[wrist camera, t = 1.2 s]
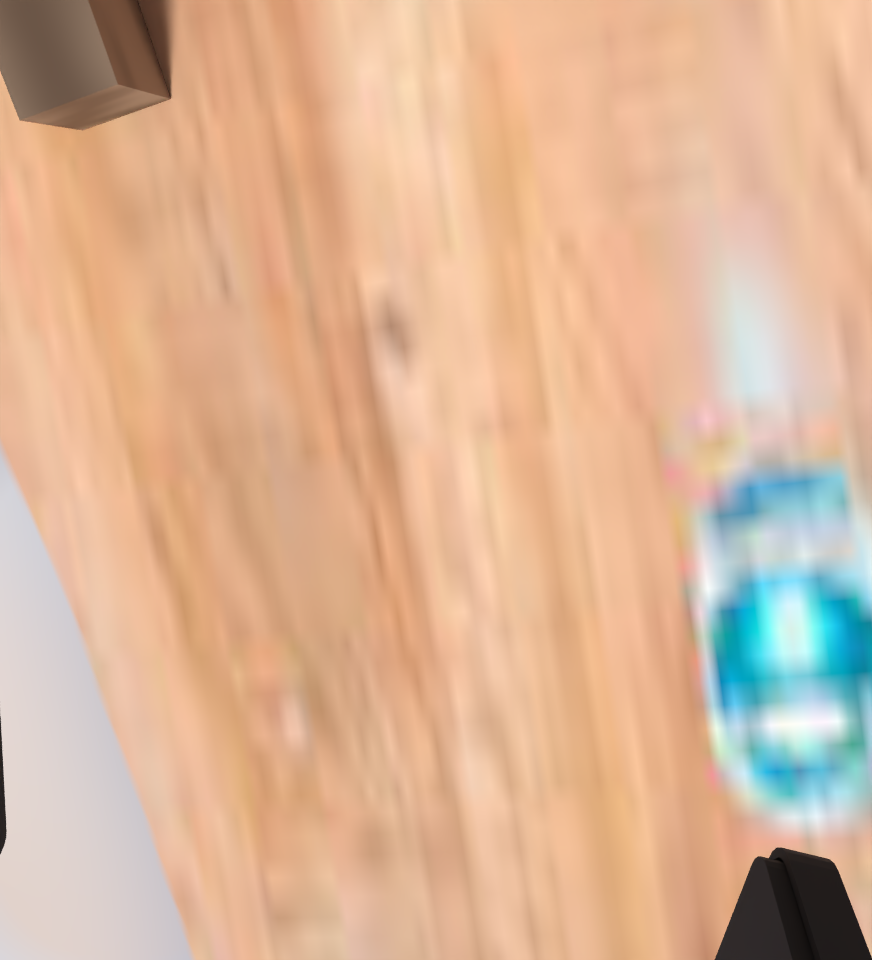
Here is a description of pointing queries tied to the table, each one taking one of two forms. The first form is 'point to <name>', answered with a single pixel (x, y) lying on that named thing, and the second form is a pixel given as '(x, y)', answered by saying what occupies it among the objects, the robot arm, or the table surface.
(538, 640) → the table surface
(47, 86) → the block
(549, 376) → the table surface
